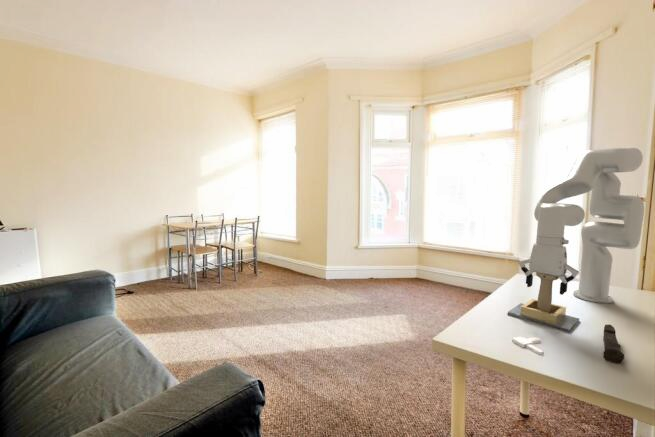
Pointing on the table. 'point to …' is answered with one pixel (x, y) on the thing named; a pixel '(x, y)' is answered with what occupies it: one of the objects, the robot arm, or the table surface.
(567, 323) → the collar base
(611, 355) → the dark brown carved statuette
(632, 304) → the table surface
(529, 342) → the corner connector
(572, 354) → the table surface
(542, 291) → the handle
